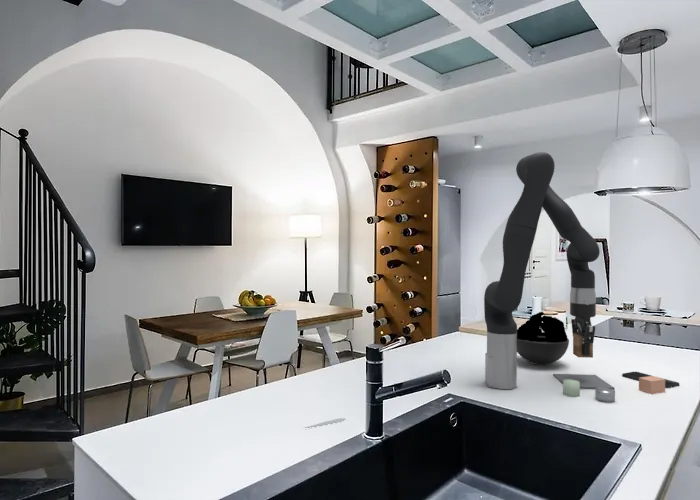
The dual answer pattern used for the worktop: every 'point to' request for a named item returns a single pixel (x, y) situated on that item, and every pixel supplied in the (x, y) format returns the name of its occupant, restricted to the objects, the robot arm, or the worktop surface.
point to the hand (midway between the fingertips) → (582, 353)
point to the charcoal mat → (585, 380)
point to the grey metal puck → (605, 395)
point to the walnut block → (580, 346)
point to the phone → (637, 375)
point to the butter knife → (327, 422)
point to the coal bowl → (542, 339)
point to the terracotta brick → (651, 384)
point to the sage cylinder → (571, 388)
